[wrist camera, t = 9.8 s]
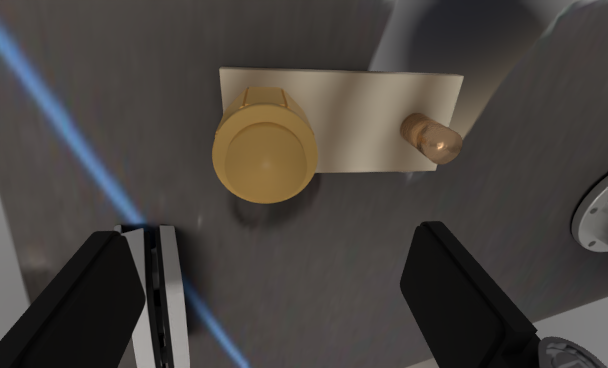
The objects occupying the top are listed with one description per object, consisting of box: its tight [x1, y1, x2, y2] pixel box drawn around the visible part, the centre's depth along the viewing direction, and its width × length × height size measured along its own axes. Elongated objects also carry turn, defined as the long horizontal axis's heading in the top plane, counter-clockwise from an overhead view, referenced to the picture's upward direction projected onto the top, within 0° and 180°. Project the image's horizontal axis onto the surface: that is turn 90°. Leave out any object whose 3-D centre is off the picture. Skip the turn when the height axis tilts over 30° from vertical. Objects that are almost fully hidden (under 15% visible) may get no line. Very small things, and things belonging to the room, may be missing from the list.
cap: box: [212, 87, 318, 203], centre depth 18 cm, size 6×6×7 cm
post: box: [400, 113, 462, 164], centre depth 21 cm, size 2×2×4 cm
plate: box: [219, 67, 464, 173], centre depth 23 cm, size 18×8×1 cm, turn 87°
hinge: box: [114, 225, 190, 368], centre depth 26 cm, size 17×5×10 cm, turn 172°
